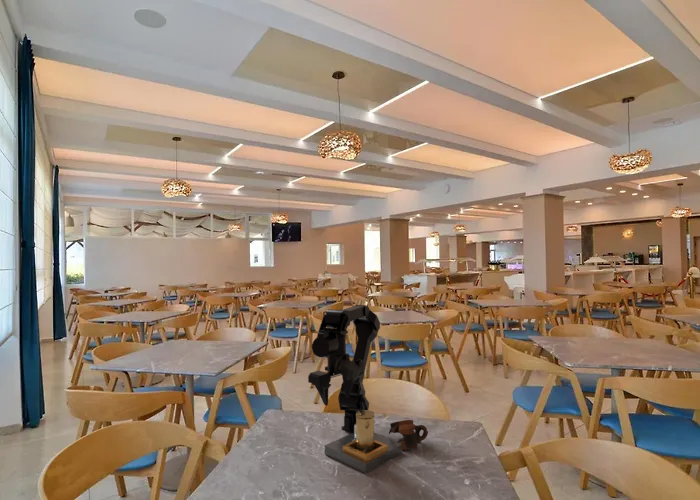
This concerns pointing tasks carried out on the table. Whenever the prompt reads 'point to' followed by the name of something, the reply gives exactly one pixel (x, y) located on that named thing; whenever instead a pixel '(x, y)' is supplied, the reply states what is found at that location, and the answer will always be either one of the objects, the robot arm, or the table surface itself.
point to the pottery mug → (409, 433)
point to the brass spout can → (365, 431)
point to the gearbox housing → (363, 462)
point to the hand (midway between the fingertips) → (336, 401)
